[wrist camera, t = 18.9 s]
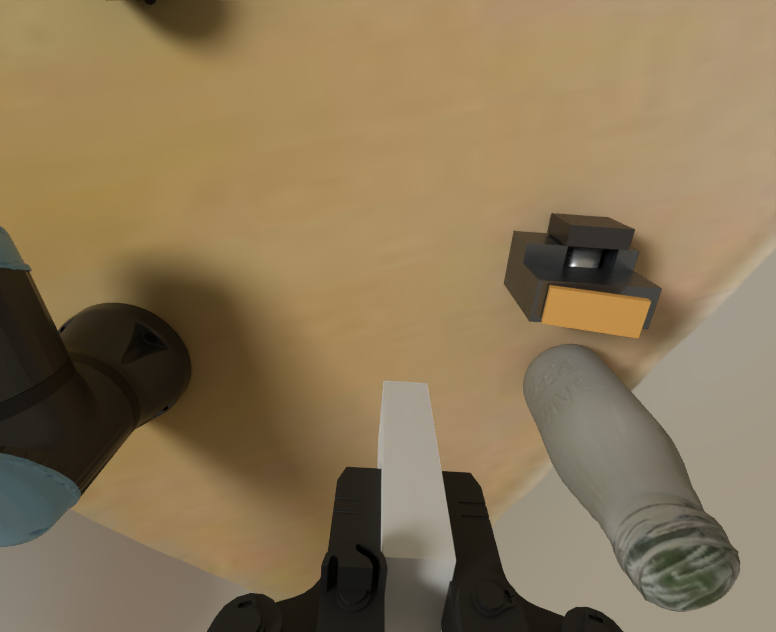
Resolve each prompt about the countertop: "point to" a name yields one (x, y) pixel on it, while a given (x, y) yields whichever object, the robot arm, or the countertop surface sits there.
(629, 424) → the grey vase
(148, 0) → the mate gourd
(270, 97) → the countertop surface
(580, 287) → the block
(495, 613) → the robot arm
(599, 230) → the lynch pin
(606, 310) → the plate
